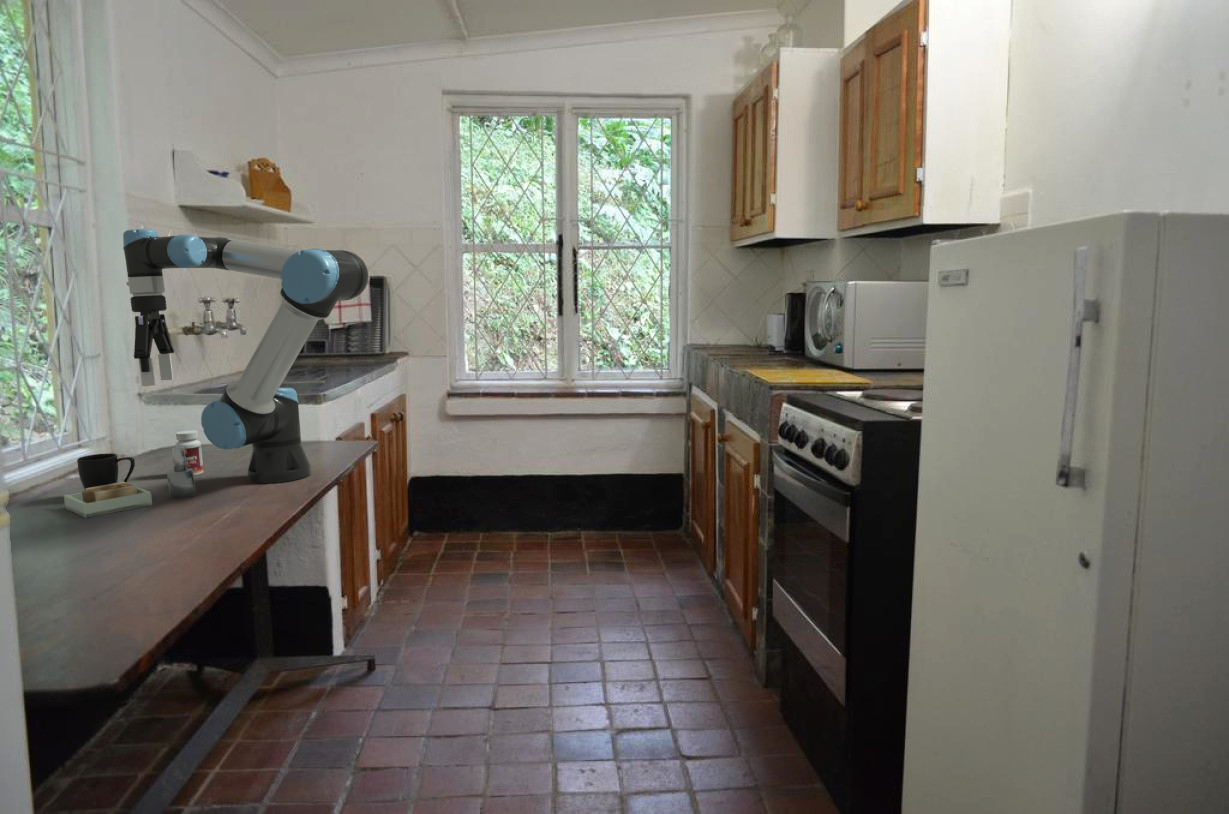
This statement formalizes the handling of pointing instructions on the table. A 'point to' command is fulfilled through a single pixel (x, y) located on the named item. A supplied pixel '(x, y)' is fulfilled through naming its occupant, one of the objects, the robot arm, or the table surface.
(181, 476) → the grey piece
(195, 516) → the table surface
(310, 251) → the robot arm
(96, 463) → the mug
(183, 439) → the pill bottle
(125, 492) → the wooden rectangular frame
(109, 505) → the tray
